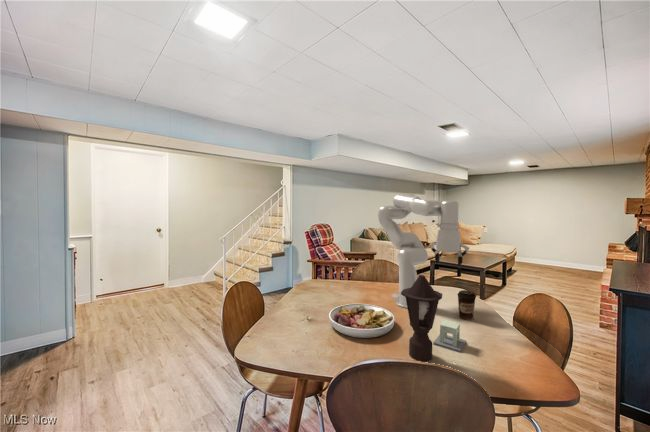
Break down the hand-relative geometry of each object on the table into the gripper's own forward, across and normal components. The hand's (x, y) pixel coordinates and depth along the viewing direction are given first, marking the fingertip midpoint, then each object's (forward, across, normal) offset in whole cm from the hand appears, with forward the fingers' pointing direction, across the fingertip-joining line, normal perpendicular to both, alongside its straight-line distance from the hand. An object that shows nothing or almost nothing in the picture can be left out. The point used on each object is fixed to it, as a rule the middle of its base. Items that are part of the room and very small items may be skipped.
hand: (448, 263), depth 131 cm
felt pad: (+28, +6, -20) cm, 35 cm away
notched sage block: (+28, +6, -20) cm, 35 cm away
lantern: (+28, 0, -36) cm, 46 cm away
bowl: (+29, -31, -27) cm, 50 cm away
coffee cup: (+28, +6, +12) cm, 32 cm away
